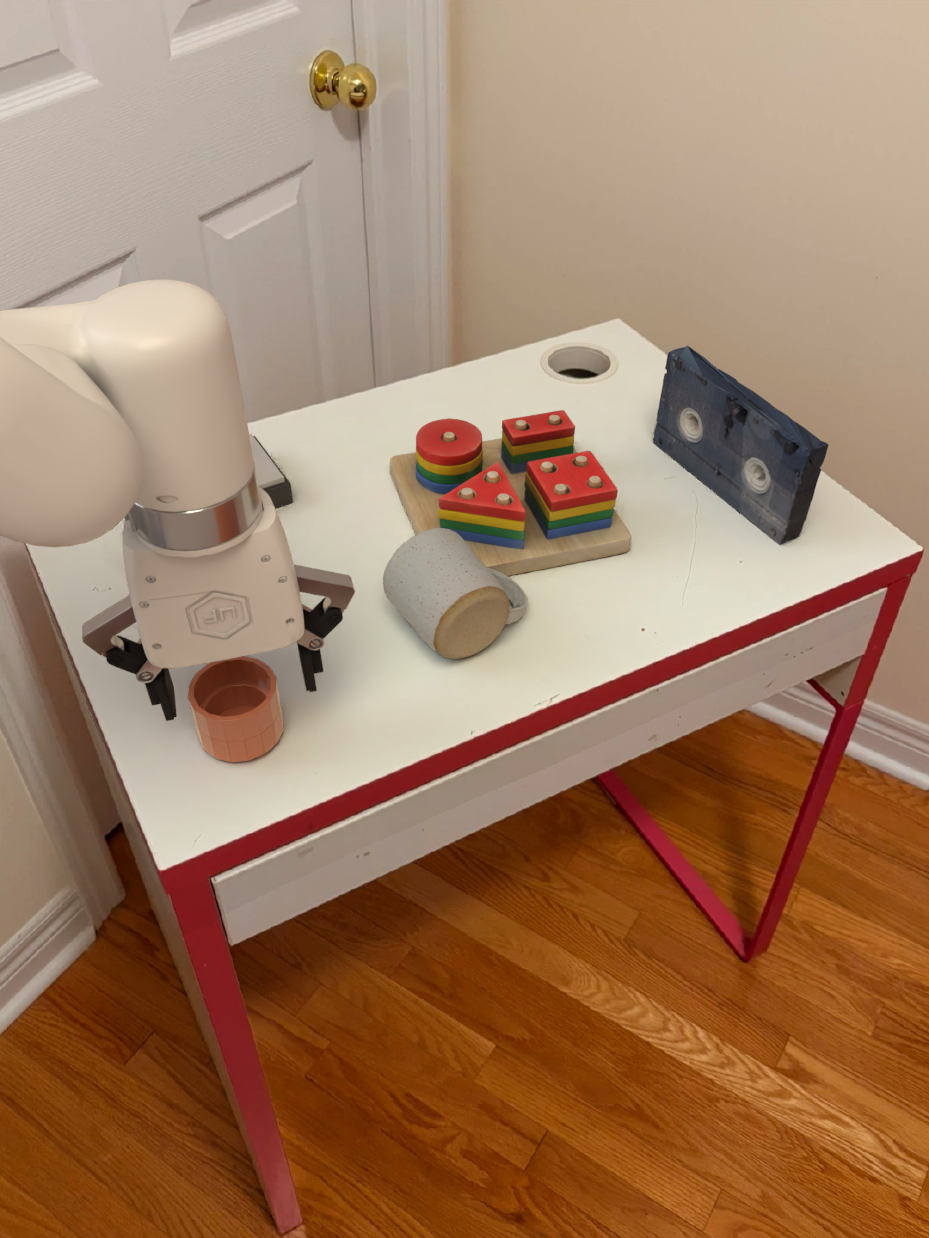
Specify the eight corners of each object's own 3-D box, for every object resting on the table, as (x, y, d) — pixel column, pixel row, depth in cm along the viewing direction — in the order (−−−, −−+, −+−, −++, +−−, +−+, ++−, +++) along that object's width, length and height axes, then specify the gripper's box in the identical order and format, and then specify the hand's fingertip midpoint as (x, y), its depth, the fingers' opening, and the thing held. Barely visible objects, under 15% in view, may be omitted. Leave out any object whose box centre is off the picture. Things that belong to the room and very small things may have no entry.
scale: (202, 532, 92) (197, 507, 90) (170, 481, 98) (164, 456, 96) (293, 502, 95) (290, 477, 93) (257, 454, 101) (253, 430, 99)
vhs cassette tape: (802, 538, 93) (831, 444, 86) (776, 548, 91) (803, 454, 85) (675, 433, 104) (691, 343, 97) (650, 442, 103) (665, 351, 96)
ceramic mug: (436, 680, 80) (437, 606, 74) (382, 617, 85) (379, 543, 79) (547, 628, 84) (556, 555, 79) (490, 571, 89) (494, 499, 84)
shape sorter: (631, 553, 91) (640, 497, 87) (438, 591, 87) (438, 534, 83) (560, 441, 103) (564, 387, 98) (387, 470, 99) (385, 416, 95)
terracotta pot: (185, 756, 74) (172, 710, 71) (221, 695, 79) (210, 648, 75) (264, 774, 73) (255, 728, 70) (296, 711, 77) (289, 665, 74)
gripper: (38, 565, 57) (115, 758, 69) (352, 511, 60) (372, 706, 72) (41, 483, 62) (111, 677, 74) (330, 438, 65) (352, 631, 77)
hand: (240, 691), depth 73 cm, fingers open, 9 cm apart
